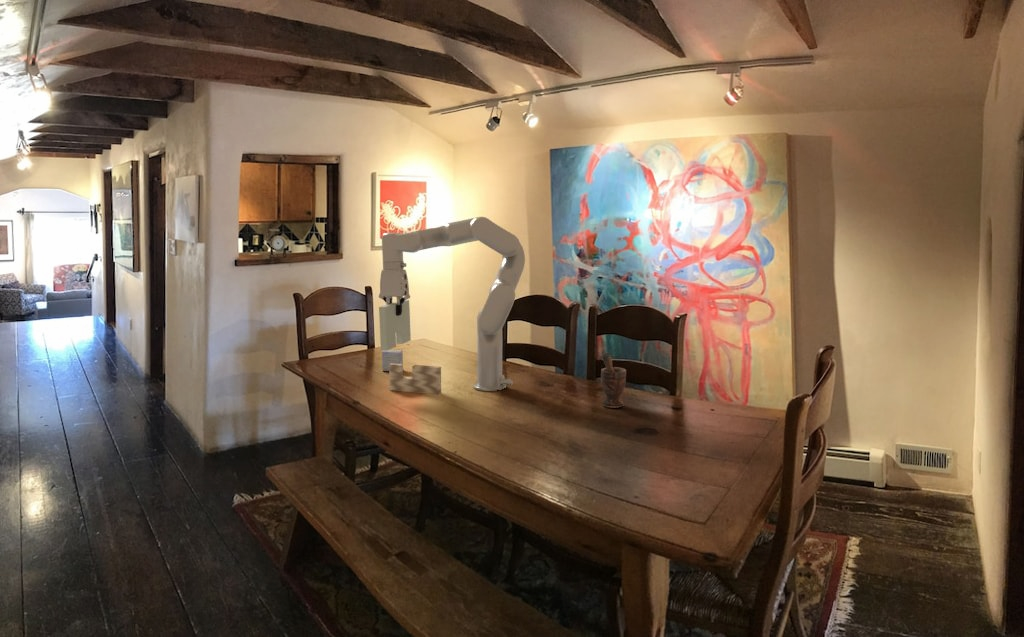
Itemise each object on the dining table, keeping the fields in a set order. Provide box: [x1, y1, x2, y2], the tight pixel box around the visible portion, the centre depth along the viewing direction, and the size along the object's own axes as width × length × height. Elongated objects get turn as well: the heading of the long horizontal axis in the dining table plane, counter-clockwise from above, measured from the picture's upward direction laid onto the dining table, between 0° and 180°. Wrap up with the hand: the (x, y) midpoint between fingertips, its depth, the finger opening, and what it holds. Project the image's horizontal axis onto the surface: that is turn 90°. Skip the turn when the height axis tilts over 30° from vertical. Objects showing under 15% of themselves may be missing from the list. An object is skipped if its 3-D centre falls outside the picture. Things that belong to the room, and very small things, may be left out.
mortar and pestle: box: [600, 353, 627, 406], centre depth 230 cm, size 12×9×20 cm
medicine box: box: [381, 349, 404, 372], centre depth 283 cm, size 8×4×9 cm, turn 84°
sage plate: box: [378, 299, 412, 351], centre depth 251 cm, size 20×2×16 cm, turn 163°
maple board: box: [388, 363, 442, 395], centre depth 250 cm, size 20×2×10 cm, turn 74°
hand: (395, 314), depth 251 cm, fingers closed on sage plate, 2 cm apart
